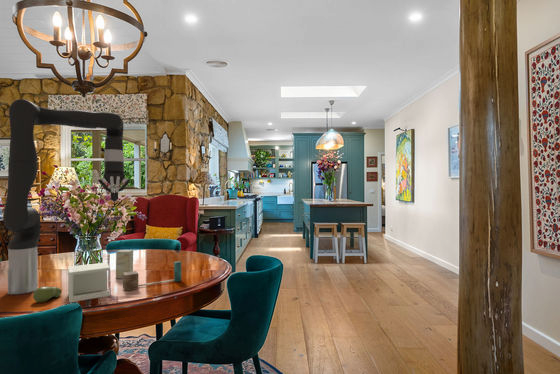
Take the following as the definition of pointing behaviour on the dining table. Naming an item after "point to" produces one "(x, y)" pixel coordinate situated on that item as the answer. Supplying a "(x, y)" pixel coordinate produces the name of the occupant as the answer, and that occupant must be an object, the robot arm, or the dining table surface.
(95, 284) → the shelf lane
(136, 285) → the block with cord
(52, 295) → the pear
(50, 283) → the dining table surface
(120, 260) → the skincare box
